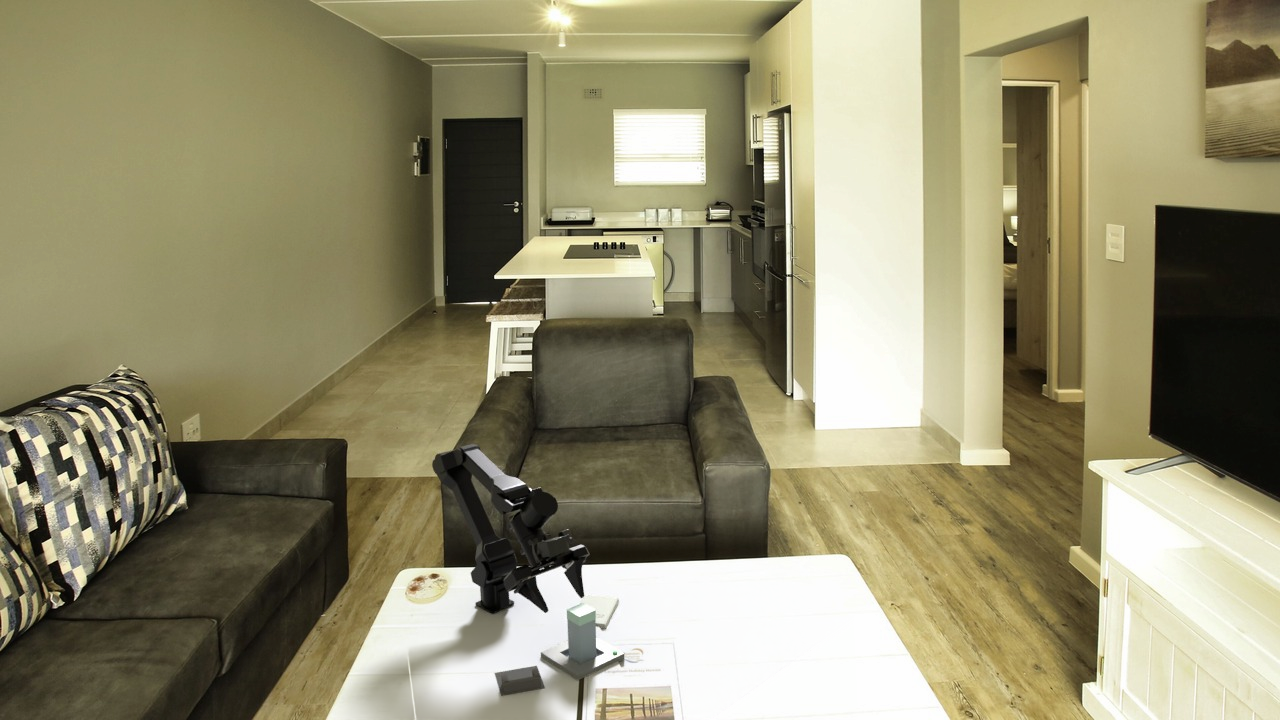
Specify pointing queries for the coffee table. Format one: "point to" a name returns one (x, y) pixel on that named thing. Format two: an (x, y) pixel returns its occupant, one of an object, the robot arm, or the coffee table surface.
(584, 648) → the plug
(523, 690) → the corner stop plate
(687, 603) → the coffee table surface
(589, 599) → the external hard drive
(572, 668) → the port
